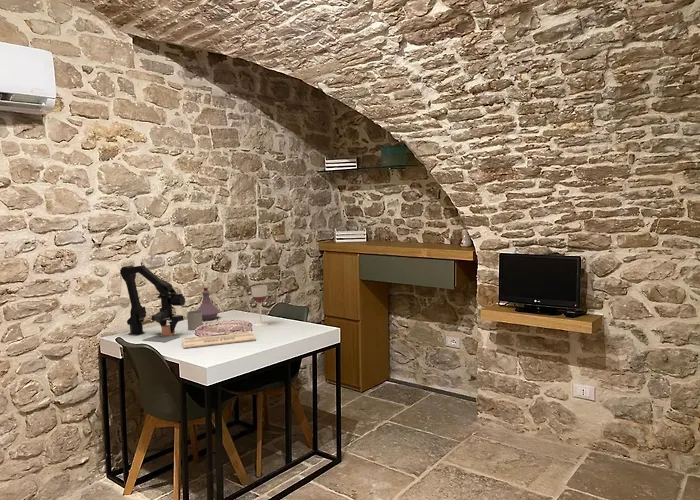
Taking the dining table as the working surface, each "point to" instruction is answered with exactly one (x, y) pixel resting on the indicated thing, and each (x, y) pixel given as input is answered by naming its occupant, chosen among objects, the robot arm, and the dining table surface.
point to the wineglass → (259, 298)
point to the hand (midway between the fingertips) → (168, 332)
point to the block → (167, 330)
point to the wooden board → (218, 339)
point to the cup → (194, 319)
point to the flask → (207, 307)
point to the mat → (161, 338)
